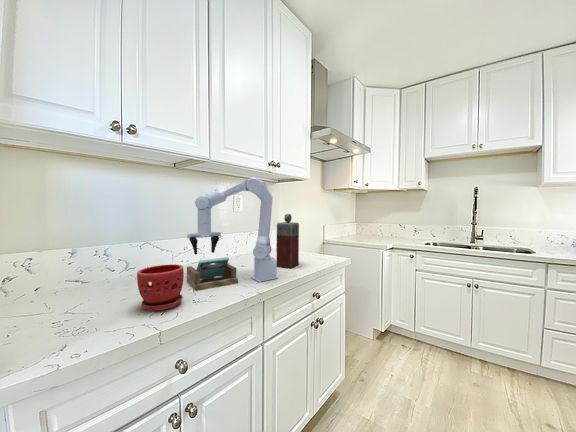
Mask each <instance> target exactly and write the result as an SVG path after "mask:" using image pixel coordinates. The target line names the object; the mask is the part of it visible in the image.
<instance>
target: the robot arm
mask: <svg viewBox="0 0 576 432" xmlns="http://www.w3.org/2000/svg"><path fill="white" fill-rule="evenodd" d="M241 192H250V193H252V194H254V195H255V196H256V197H257V198H258V199H259V201H260V209H259V219H258V221H259V222H258V232H257V238H256V241H255V245H254V248H253V249H252V253H253V256H254V258H253V263H254V264H253V267H254V269H253V270H254V271H253V273H254V275H251V276H250V278H251V279H252V280H255V281H256V282H260V283H261V282H266V281H270V280H271V281H272V280H275V279H278V277H277V269H278V267H277V259H275V257H271V255H270V253H271V252H272V245H271V239H270V234H271V233H270V232H271V221H272V211H273V199H274V197H273V195H272V193H271V191H270V189H269V187H268V184H266V182H264V181H263V180H262V179H259V178H258V177H255V176H253V177H250V178H248V179H243V180H242V181H240V182H238V183H236V184H234V185H232V186H230V187H228V188H226V189H224V190H223V189H220V188H218V189H217V188H216V189H214V191H212V192H210V193H205V194H204V195H205V196H204V195H200V196H198V197H197V198H195V201H194V204H195V207H196V208H197V232H194V233H186V239H188V240H189V242H190V243H191V246H192V249H193V253H194V255H198V241H199V240H198V239H199V238H210V242H211V243H210V245H211V247H210V251H211V253H212V254H214V253H215V250H216V246H217V244H218V242H219V241H220V237H221V236H222V235H221V233H222V232H221V231H218V232H217V231H213V232H212V213H211V212H212V208H213V207H214V206H218V205H219V204H222V203H224V202H226V200H227V199H228V197H231V196H234V195H237V194H239V193H241Z"/></svg>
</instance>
